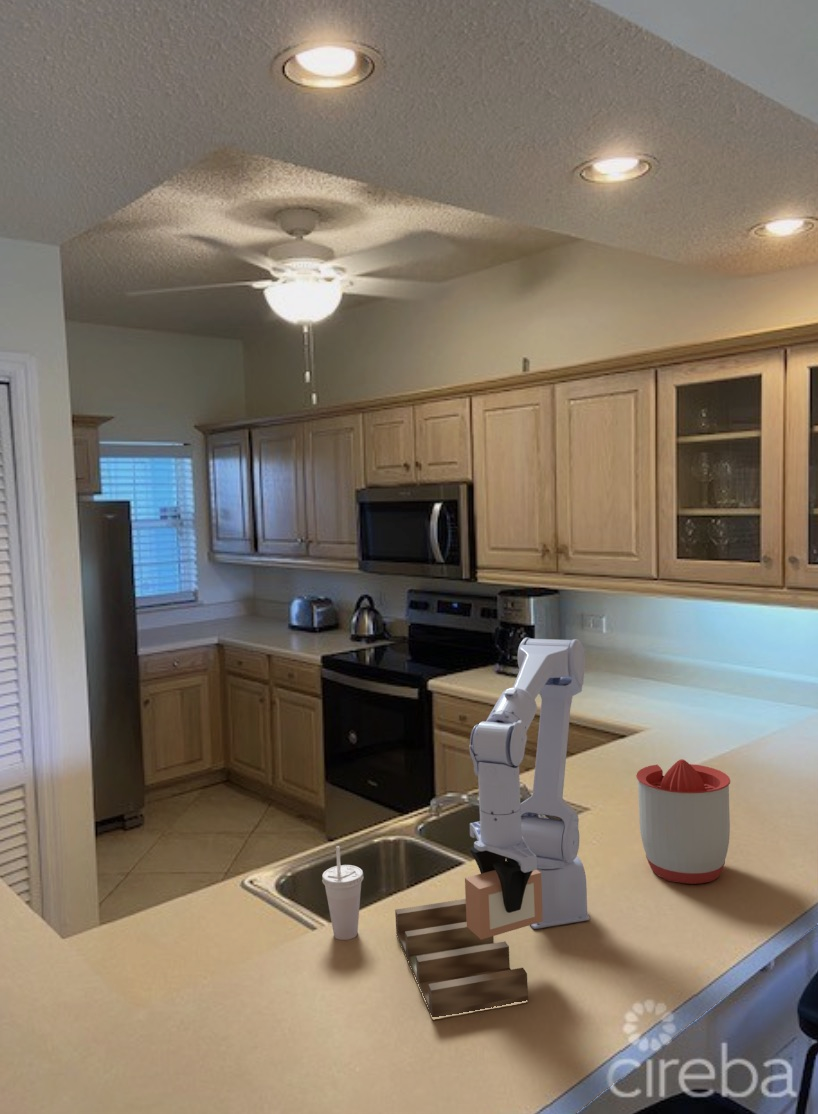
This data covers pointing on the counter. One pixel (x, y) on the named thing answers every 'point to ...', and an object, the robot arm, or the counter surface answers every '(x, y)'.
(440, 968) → the rack
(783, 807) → the counter surface
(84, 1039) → the counter surface
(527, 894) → the pink rectangular block
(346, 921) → the smoothie
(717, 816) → the citrus juicer
